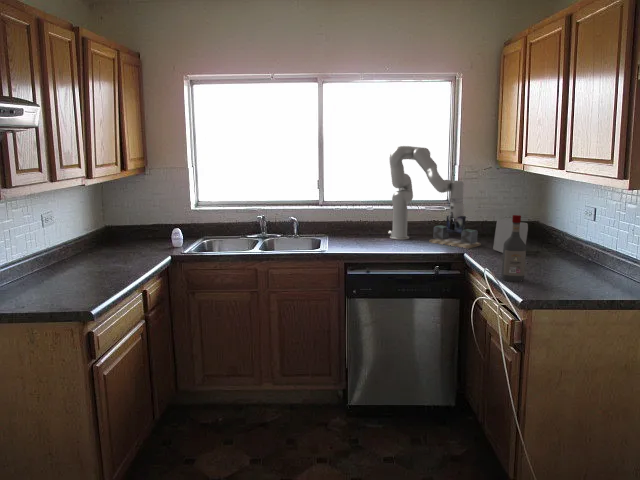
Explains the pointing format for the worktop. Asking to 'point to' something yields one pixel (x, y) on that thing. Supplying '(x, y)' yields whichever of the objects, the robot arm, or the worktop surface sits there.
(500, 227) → the electrical switch box
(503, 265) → the liquor
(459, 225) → the small box
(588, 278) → the worktop surface
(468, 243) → the rail board
